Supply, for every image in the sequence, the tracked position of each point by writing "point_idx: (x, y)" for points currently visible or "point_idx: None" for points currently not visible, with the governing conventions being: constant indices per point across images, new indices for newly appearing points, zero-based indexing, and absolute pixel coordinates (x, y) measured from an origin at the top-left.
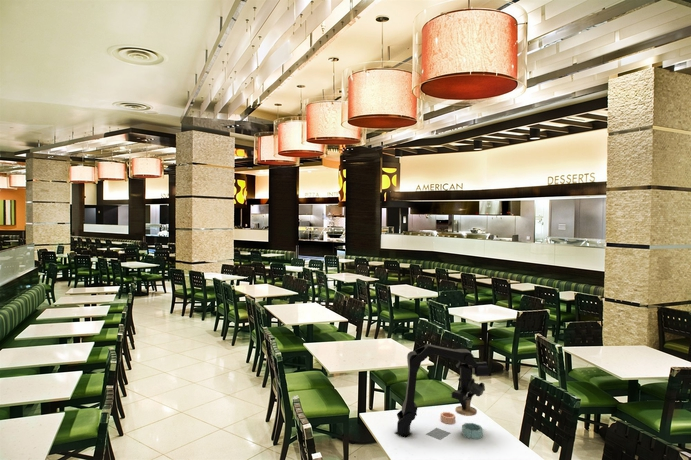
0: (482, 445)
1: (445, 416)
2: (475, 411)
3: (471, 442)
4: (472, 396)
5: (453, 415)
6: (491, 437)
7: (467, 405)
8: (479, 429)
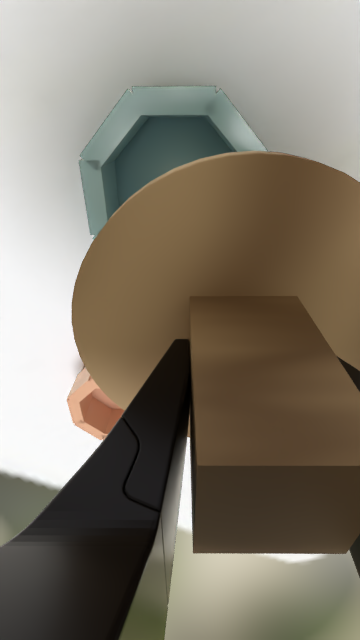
0: (292, 2)
1: (105, 413)
2: (203, 189)
3: (293, 128)
4: (37, 534)
5: (90, 391)
6: (68, 20)
7: (343, 368)
8: (171, 111)
